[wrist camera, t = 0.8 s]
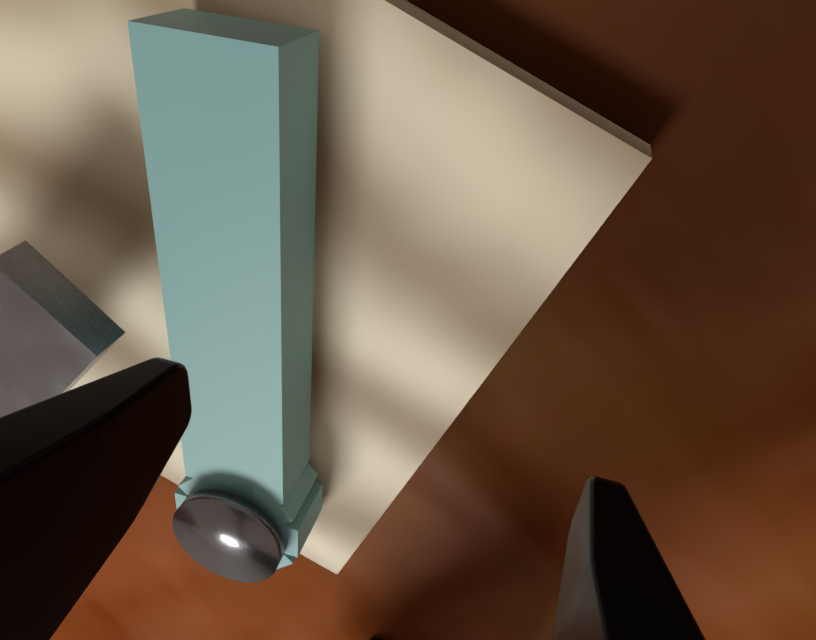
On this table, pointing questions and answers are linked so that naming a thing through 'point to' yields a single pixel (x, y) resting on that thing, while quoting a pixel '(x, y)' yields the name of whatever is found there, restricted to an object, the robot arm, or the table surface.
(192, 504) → the pintle and keeper
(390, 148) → the base board
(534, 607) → the table surface
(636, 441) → the table surface
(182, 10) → the link
